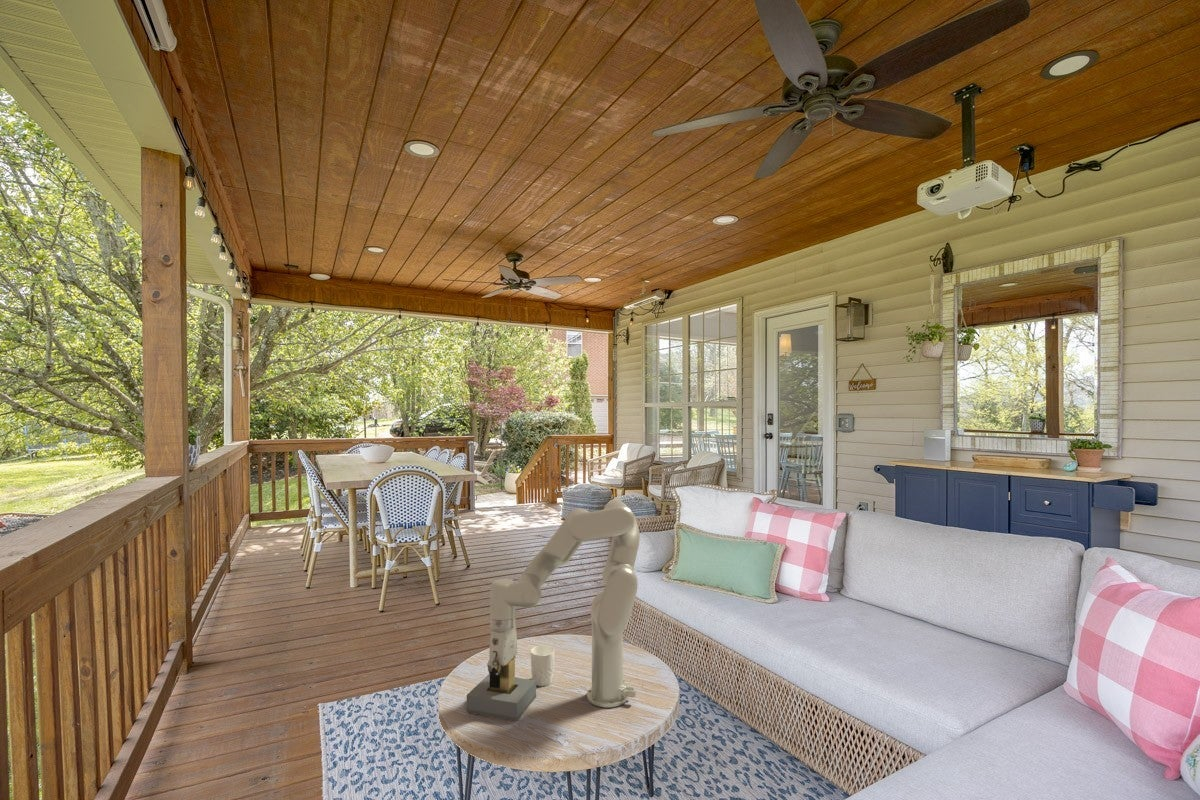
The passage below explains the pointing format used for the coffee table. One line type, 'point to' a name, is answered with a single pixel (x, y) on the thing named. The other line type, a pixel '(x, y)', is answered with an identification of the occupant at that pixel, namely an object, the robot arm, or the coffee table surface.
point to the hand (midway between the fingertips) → (502, 679)
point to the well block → (501, 699)
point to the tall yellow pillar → (506, 678)
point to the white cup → (542, 664)
